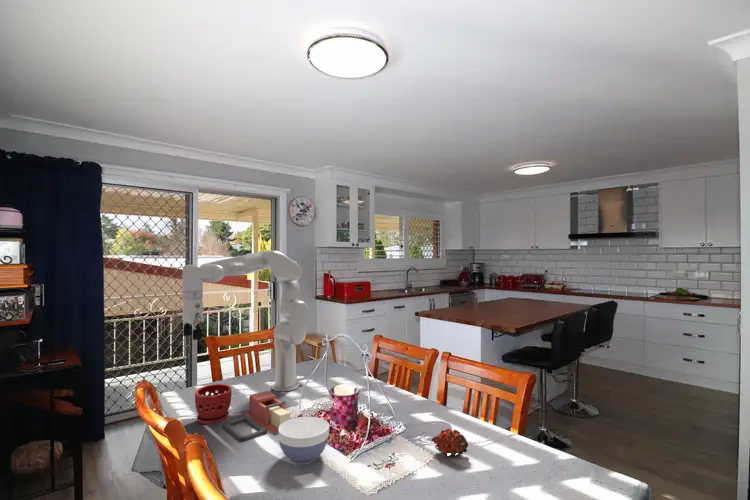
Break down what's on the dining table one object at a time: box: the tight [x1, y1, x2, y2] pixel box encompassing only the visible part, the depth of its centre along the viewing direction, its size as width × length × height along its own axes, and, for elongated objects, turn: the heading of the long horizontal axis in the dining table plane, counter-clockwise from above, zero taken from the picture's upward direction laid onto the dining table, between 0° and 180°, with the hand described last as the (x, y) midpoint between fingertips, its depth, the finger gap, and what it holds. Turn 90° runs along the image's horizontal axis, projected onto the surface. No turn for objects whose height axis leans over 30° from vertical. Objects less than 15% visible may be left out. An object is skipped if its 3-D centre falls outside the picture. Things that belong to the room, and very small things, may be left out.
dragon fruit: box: [431, 428, 469, 456], centre depth 128 cm, size 8×8×12 cm
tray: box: [222, 416, 268, 442], centre depth 143 cm, size 9×16×2 cm, turn 43°
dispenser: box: [243, 390, 292, 434], centre depth 152 cm, size 22×12×8 cm, turn 43°
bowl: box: [277, 416, 330, 465], centre depth 126 cm, size 16×16×10 cm
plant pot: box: [194, 383, 232, 425], centre depth 153 cm, size 13×13×12 cm
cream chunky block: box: [269, 406, 291, 429], centre depth 148 cm, size 10×4×5 cm, turn 43°
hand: (192, 337), depth 160 cm, fingers open, 9 cm apart
